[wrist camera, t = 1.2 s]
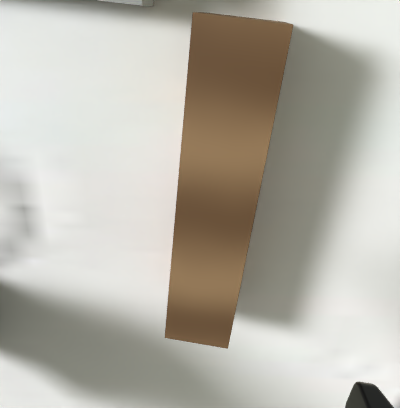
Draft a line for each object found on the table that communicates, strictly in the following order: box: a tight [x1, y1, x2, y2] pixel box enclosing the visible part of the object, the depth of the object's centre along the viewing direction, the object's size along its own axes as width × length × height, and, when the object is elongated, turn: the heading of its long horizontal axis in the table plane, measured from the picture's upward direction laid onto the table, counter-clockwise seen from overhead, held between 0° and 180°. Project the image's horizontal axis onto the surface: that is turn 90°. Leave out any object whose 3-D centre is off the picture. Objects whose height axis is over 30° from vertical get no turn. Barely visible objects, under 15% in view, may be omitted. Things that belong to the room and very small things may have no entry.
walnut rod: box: [165, 12, 293, 349], centre depth 18 cm, size 16×4×4 cm, turn 174°
